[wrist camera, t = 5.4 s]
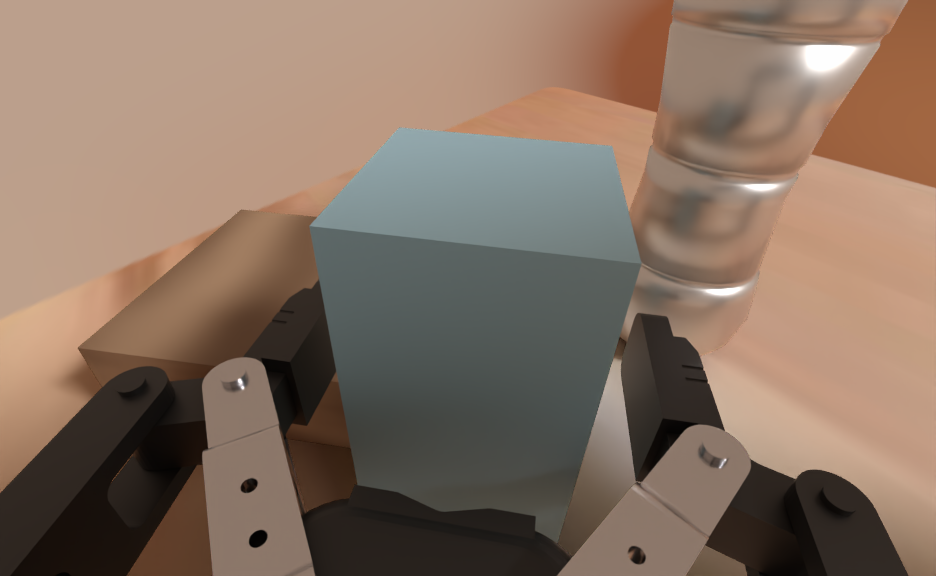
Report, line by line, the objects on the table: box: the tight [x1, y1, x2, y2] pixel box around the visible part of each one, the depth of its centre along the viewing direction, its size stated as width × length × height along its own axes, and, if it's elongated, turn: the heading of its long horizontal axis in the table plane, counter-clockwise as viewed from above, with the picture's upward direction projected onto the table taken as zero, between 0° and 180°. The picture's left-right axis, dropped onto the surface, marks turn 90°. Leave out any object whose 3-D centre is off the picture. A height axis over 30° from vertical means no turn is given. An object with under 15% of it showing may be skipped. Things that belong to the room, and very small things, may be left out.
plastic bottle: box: [620, 0, 908, 356], centre depth 18 cm, size 6×7×20 cm
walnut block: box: [78, 210, 351, 448], centre depth 22 cm, size 11×11×4 cm
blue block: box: [309, 128, 642, 543], centre depth 13 cm, size 5×5×12 cm
